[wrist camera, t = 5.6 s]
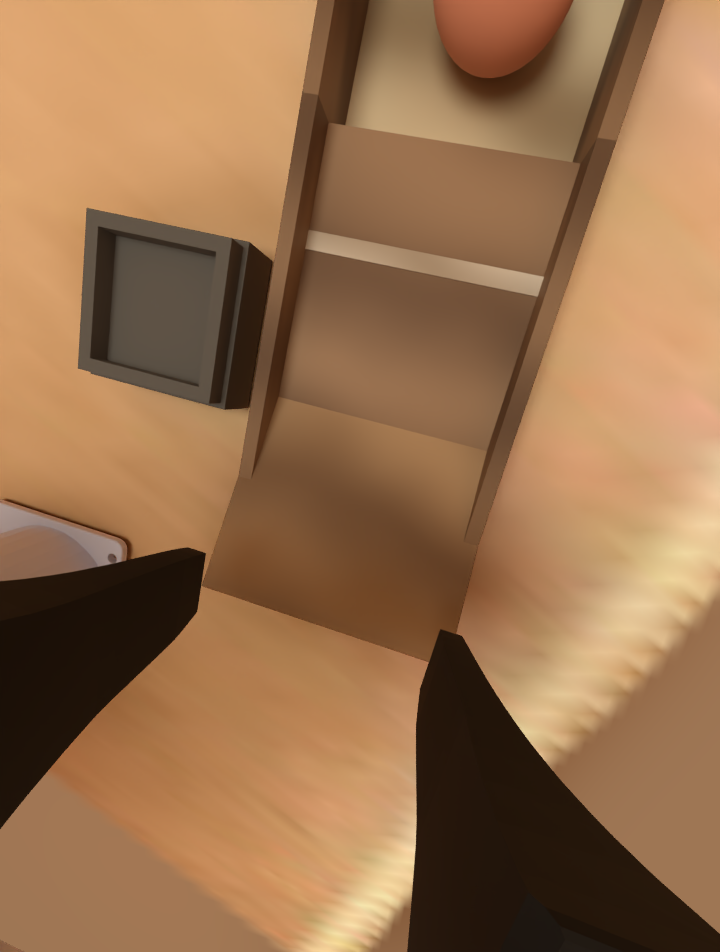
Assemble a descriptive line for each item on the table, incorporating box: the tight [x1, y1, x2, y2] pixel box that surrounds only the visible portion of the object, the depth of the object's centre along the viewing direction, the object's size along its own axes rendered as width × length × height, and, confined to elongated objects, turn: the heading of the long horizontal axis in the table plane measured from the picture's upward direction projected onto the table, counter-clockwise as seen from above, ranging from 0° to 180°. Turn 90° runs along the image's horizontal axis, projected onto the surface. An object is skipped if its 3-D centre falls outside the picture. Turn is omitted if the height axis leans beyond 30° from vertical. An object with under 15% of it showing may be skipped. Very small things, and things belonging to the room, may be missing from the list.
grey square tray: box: [78, 208, 272, 410], centre depth 15 cm, size 6×6×3 cm
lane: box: [202, 0, 664, 662], centre depth 13 cm, size 23×9×4 cm, turn 166°
